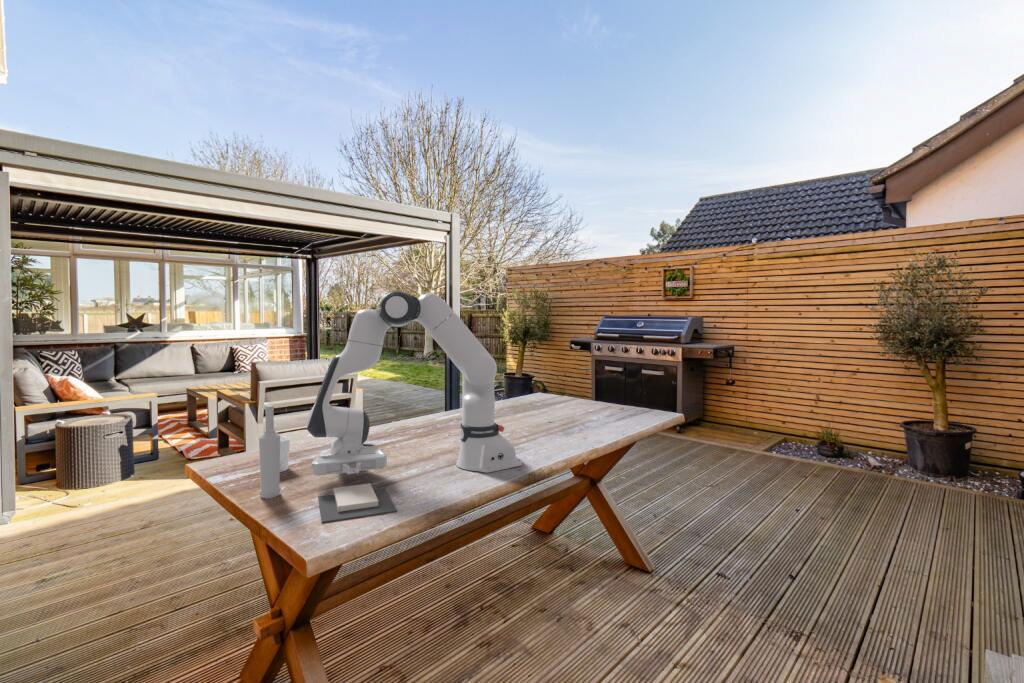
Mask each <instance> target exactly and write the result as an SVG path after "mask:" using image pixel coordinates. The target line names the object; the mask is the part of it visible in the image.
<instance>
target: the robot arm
mask: <svg viewBox="0 0 1024 683" xmlns="http://www.w3.org/2000/svg"><path fill="white" fill-rule="evenodd" d="M381 298H382V299H381V300H380V302H379V307H377V308H376V309H373V308H363V309H360V310H358V311H357V312H356V313H355V315H354V317H353V320H352V323H351V325H350V328H349V333H348V338H347V341H346V345H345V347H344V349H343V350H342V351H341V353H338V354H337V355H334V357H333V358H332V359H331V361H330V364H329V365H328V368H327V370H326V372H325V375H324V378H323V380H322V383H321V386H320V389H319V390H318V393H317V396H316V399H315V401H314V404H313V405H312V408H310V411H309V413H308V416H307V419H306V424H305V425H306V430H307V431H308V433H309V434H310V435H311V436H313V437H314V438H333V439H332V441H331V444H330V454H329V455H322V456H317V457H315V458H314V460H312V461H311V462H310V464H311V466H312V468H313V475H314V476H317V477H319V476H326V475H335V474H347V475H354V474H355V475H356V474H359V473H360V472H362V471H370V470H371V471H372V470H380V469H385V468H386V467H387V465H388V463H387V462H388V459H387V455H386V453H385V452H384V450H382V449H380V448H378V445H377V444H372V443H369V444H368V443H365V442H366V441H367V439H368V437H369V433H370V427H371V426H370V418H369V416H368V414H367V412H366V411H365V410H364V409H362V408H355V407H345V406H344V407H343V406H334V405H331V404H330V402H331V400H332V397H333V394H334V391H335V388H336V386H337V383H338V382H339V380H340V379H341V378H343V377H345V376H348V375H350V374H355V373H360V372H364V371H367V370H370V369H371V368H373V367H375V366H376V365H377V363H379V361H380V358H381V355H382V353H383V352H382V351H383V346H384V340H385V336H386V333H387V331H388V329H395V328H397V329H398V328H402V327H405V326H408V325H409V324H410V323H411V322H417V323H419V324H420V325H421V326H422V327H423V328H424V329H425V331H427V333H429V335H430V336H431V338H432V339H433V340H434V341H435V342H436V343H437V345H439V347H440V348H441V350H443V351H444V353H445V354H446V356H447V357H448V358H449V360H450V361H451V362H452V363H453V364H454V365H455V367H456V368H457V370H459V372H460V373H461V376H462V378H461V383H462V385H461V386H462V387H461V389H462V391H461V393H462V394H461V399H462V402H461V423H460V429H459V438H460V447H459V453H458V457H457V461H456V466H457V467H458V468H459V469H463V470H467V471H473V472H474V471H475V472H481V473H492V472H498V471H502V470H508V469H511V468H516V467H521V466H523V460H522V458H520V456H517V454H516V448H515V446H514V445H513V443H511V442H510V440H508V439H507V438H506V437H504V436H503V435H502V434H500V432H501V433H503V432H504V431H505V427H504V426H503V425H501V424H497V423H496V422H495V414H496V413H495V412H496V411H495V410H496V406H495V405H496V402H495V401H496V397H495V377H496V376H497V373H498V372H497V371H498V366H497V362H496V360H495V359H494V357H493V356H492V354H490V352H489V351H488V350H487V349H486V348H485V347H484V345H483V344H482V343H481V342H480V341H479V339H478V338H477V337H476V336H475V335H474V334H473V332H472V331H471V330H470V329H469V327H467V324H465V323H464V321H463V320H462V319H461V318H460V317H459V316H458V314H457V313H456V312H455V310H454V309H452V307H451V306H450V305H449V304H448V303H447V302H446V301H445V300H443V299H442V298H441V297H440V296H438V294H436V293H433V292H427V293H424V294H422V295H420V296H419V297H417V296H415V295H412V294H410V293H407V292H405V291H400V290H395V291H394V290H393V291H389V292H388V293H386V294H385V295H384V296H383V297H381Z"/></svg>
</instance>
